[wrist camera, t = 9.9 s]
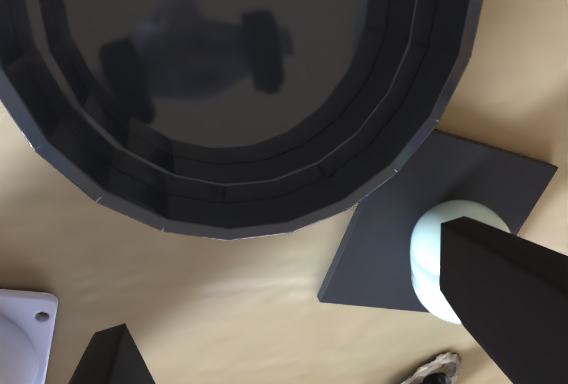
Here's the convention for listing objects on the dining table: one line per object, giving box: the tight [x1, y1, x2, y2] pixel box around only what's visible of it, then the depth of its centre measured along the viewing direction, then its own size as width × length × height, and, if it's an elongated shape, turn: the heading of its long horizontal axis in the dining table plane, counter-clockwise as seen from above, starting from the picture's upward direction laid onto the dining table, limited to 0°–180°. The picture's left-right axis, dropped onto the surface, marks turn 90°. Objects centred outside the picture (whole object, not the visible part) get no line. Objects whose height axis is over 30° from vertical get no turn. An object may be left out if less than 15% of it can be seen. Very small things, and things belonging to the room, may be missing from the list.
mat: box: [317, 129, 558, 312], centre depth 23 cm, size 10×10×1 cm
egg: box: [410, 199, 510, 324], centre depth 20 cm, size 6×4×4 cm
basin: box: [0, 0, 483, 241], centre depth 14 cm, size 14×14×4 cm
